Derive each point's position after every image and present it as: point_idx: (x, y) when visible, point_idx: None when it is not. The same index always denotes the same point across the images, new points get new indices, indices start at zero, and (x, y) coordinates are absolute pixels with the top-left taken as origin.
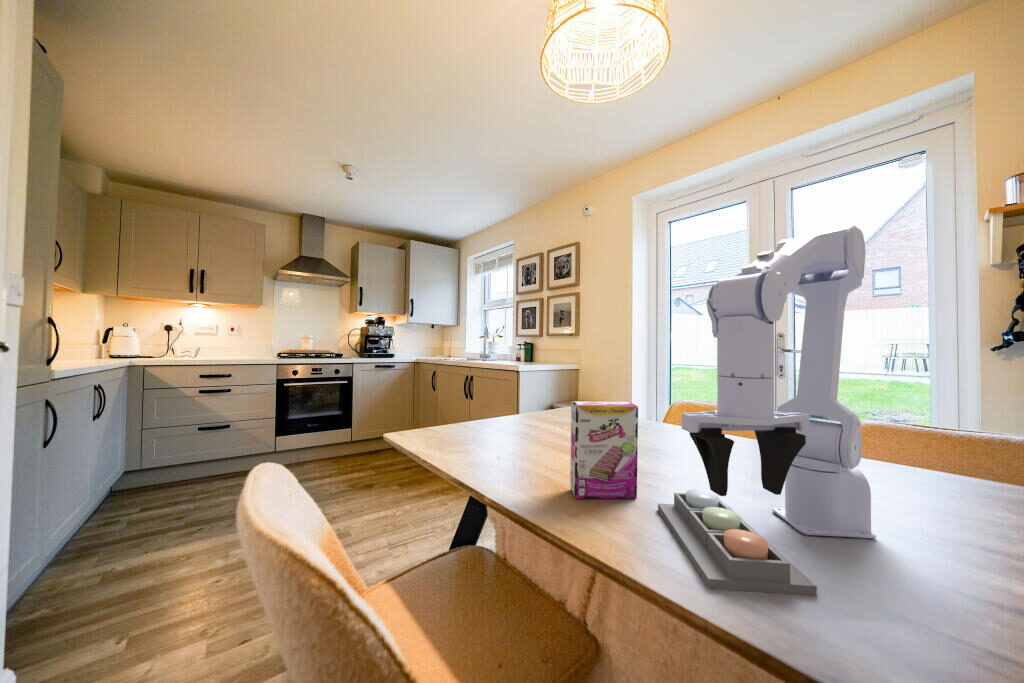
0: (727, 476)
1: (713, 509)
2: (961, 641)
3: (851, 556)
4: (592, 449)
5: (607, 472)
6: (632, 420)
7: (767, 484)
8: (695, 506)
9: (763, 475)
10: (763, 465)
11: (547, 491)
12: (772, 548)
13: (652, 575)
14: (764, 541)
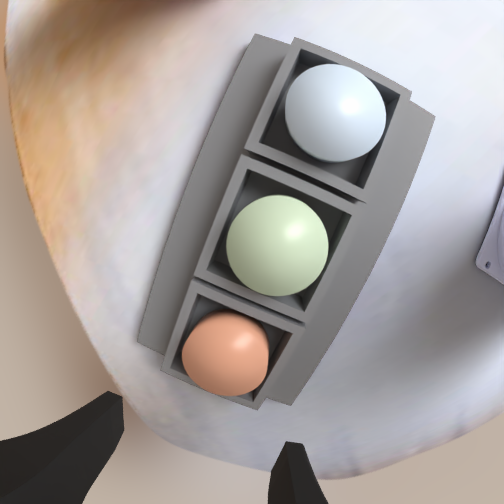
0: (97, 474)
1: (280, 216)
2: (352, 461)
3: (462, 337)
4: None
5: None
6: None
7: (279, 466)
8: (289, 132)
9: (285, 474)
10: (291, 500)
11: None
12: (278, 373)
13: (83, 279)
14: (253, 383)
